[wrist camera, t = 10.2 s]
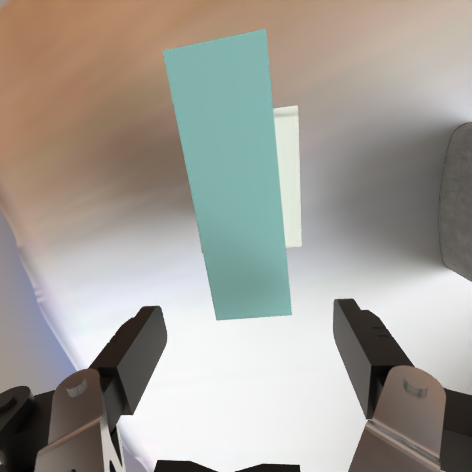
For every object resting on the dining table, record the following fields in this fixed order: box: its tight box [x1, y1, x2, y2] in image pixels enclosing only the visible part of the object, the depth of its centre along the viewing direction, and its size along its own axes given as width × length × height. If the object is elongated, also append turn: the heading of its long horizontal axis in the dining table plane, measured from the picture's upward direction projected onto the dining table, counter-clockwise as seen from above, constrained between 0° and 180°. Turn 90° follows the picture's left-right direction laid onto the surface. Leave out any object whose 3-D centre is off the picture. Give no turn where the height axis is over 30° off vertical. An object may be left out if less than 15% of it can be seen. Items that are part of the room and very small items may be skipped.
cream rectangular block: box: [199, 105, 302, 253], centre depth 23 cm, size 10×8×10 cm
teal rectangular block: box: [163, 29, 292, 320], centre depth 15 cm, size 14×4×6 cm, turn 8°
